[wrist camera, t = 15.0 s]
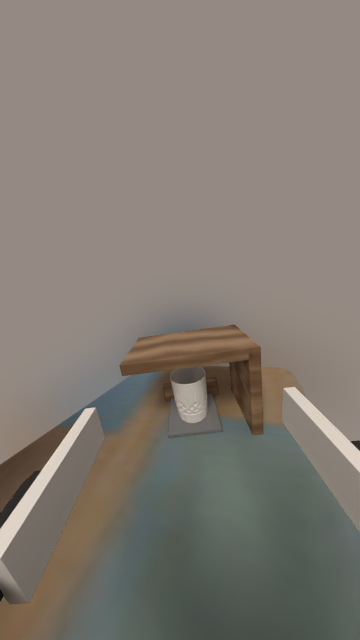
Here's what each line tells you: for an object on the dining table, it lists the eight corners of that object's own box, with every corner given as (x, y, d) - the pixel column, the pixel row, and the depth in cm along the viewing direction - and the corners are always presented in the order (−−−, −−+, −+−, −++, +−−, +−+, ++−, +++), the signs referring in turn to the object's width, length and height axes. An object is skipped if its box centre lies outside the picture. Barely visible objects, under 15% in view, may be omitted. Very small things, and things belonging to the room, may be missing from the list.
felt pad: (222, 431, 34) (222, 429, 34) (168, 437, 35) (168, 435, 35) (212, 395, 45) (212, 393, 45) (171, 400, 45) (170, 398, 45)
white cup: (194, 395, 45) (189, 361, 43) (217, 410, 39) (213, 371, 37) (169, 412, 40) (162, 375, 38) (192, 433, 34) (185, 390, 32)
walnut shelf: (263, 433, 33) (260, 347, 28) (140, 447, 33) (119, 365, 29) (238, 387, 47) (233, 324, 42) (152, 397, 47) (139, 337, 43)
